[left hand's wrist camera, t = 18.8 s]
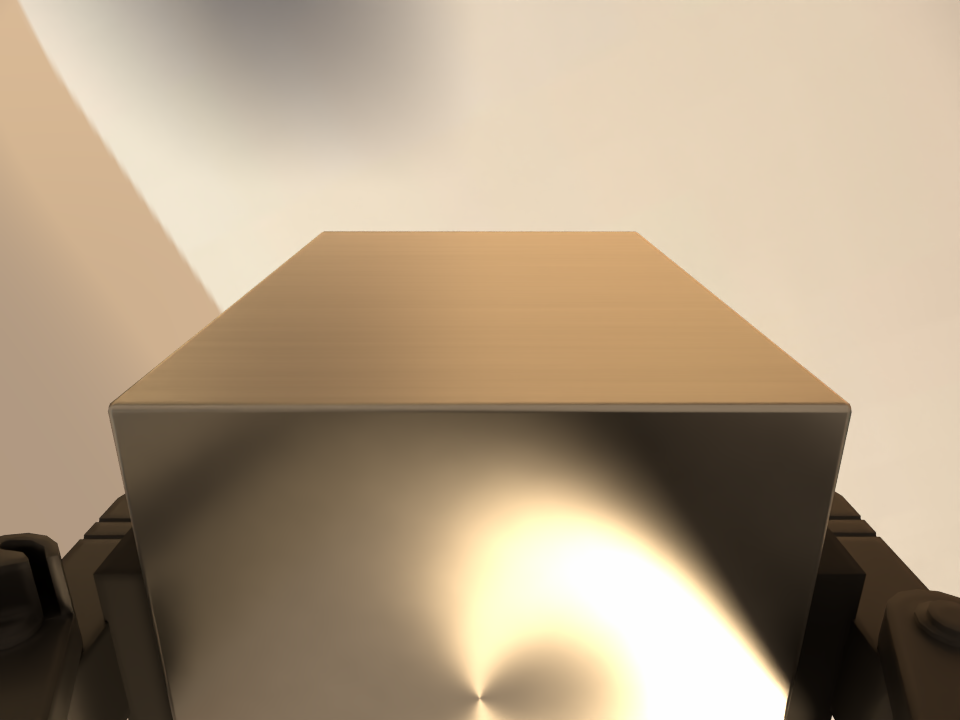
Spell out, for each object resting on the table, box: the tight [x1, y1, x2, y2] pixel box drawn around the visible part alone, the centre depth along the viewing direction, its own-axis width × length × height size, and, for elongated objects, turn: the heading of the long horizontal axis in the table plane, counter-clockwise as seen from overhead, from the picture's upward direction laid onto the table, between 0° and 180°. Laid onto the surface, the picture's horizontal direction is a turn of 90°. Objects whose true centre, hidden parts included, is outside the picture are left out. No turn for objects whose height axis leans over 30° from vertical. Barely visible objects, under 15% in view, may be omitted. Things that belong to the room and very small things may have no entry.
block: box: [108, 231, 851, 720], centre depth 12 cm, size 7×7×10 cm
